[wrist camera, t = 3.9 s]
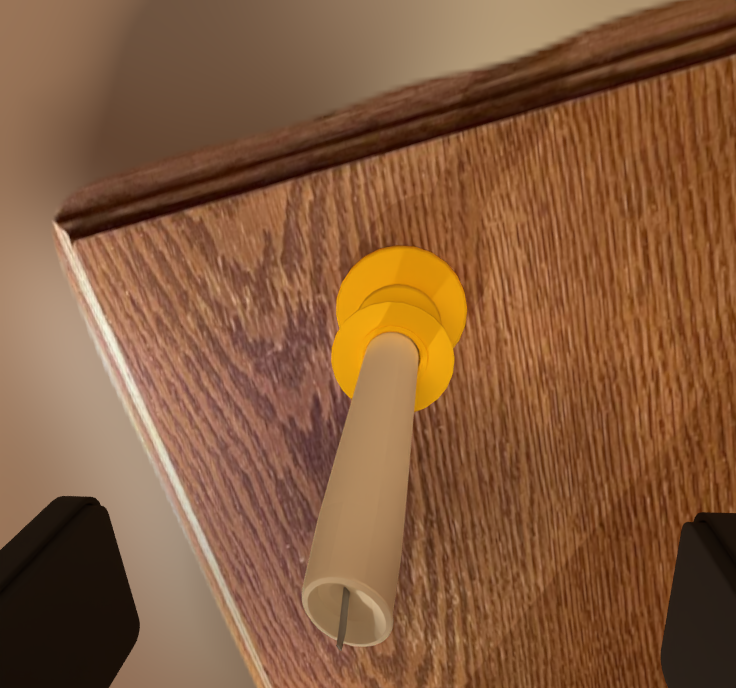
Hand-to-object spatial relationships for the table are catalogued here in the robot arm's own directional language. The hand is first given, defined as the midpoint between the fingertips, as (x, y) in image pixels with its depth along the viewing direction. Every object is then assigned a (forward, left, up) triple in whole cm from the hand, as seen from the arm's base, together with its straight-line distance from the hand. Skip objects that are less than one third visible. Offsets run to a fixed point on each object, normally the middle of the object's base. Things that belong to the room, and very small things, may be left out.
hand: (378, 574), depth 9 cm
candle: (0, 0, -14) cm, 14 cm away
